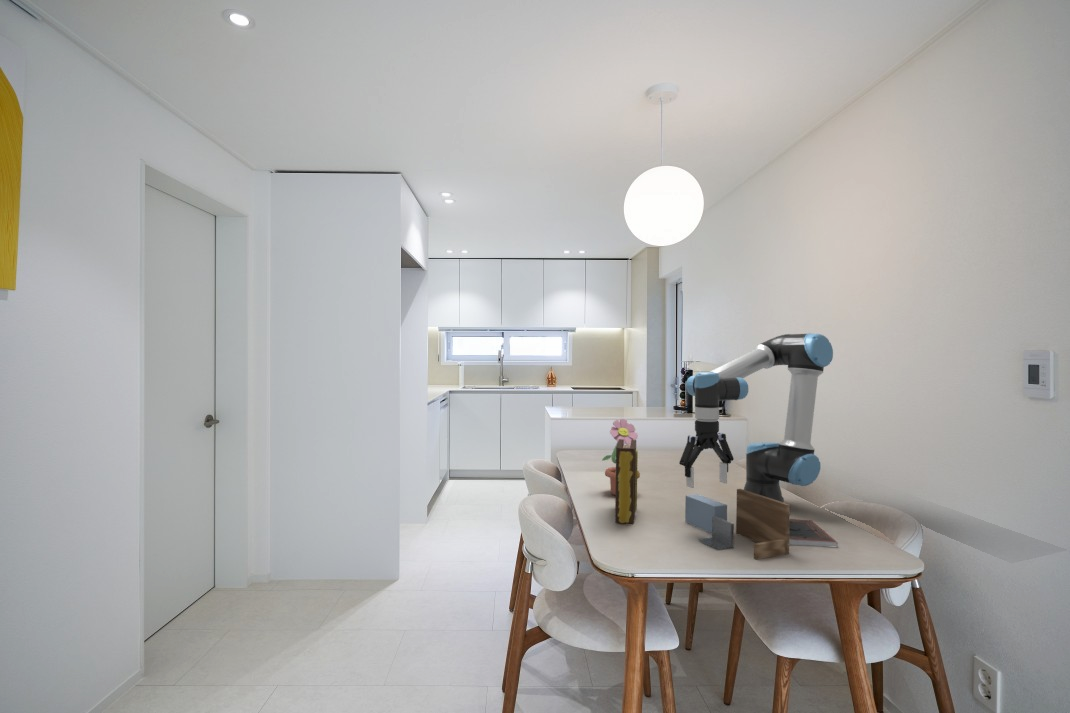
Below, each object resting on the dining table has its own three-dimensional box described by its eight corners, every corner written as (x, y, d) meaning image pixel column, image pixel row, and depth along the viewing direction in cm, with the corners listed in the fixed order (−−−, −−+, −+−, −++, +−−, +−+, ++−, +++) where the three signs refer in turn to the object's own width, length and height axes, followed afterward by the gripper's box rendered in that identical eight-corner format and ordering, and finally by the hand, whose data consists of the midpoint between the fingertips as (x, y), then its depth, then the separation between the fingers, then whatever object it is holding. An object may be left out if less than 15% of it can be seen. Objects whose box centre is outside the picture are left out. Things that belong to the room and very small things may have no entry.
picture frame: (759, 523, 185) (778, 546, 164) (759, 516, 185) (778, 537, 164) (811, 526, 183) (837, 549, 161) (811, 519, 183) (837, 541, 161)
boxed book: (696, 520, 186) (697, 493, 186) (726, 533, 173) (727, 504, 173) (684, 522, 184) (685, 495, 184) (714, 535, 171) (714, 506, 171)
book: (637, 525, 179) (638, 449, 179) (611, 523, 181) (612, 448, 181) (638, 506, 201) (639, 438, 201) (615, 505, 203) (616, 437, 203)
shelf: (739, 532, 173) (740, 488, 173) (788, 553, 156) (789, 504, 156) (709, 537, 168) (709, 492, 168) (756, 559, 151) (757, 508, 151)
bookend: (714, 538, 167) (714, 515, 167) (733, 547, 160) (733, 523, 160) (698, 541, 165) (699, 518, 165) (717, 550, 158) (717, 526, 158)
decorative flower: (609, 499, 210) (610, 421, 210) (597, 490, 223) (598, 417, 223) (645, 498, 213) (646, 421, 213) (631, 489, 227) (632, 417, 227)
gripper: (728, 416, 187) (728, 478, 187) (668, 420, 177) (668, 486, 177) (744, 419, 180) (744, 483, 180) (683, 423, 170) (683, 491, 170)
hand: (706, 484), depth 179 cm, fingers open, 13 cm apart
